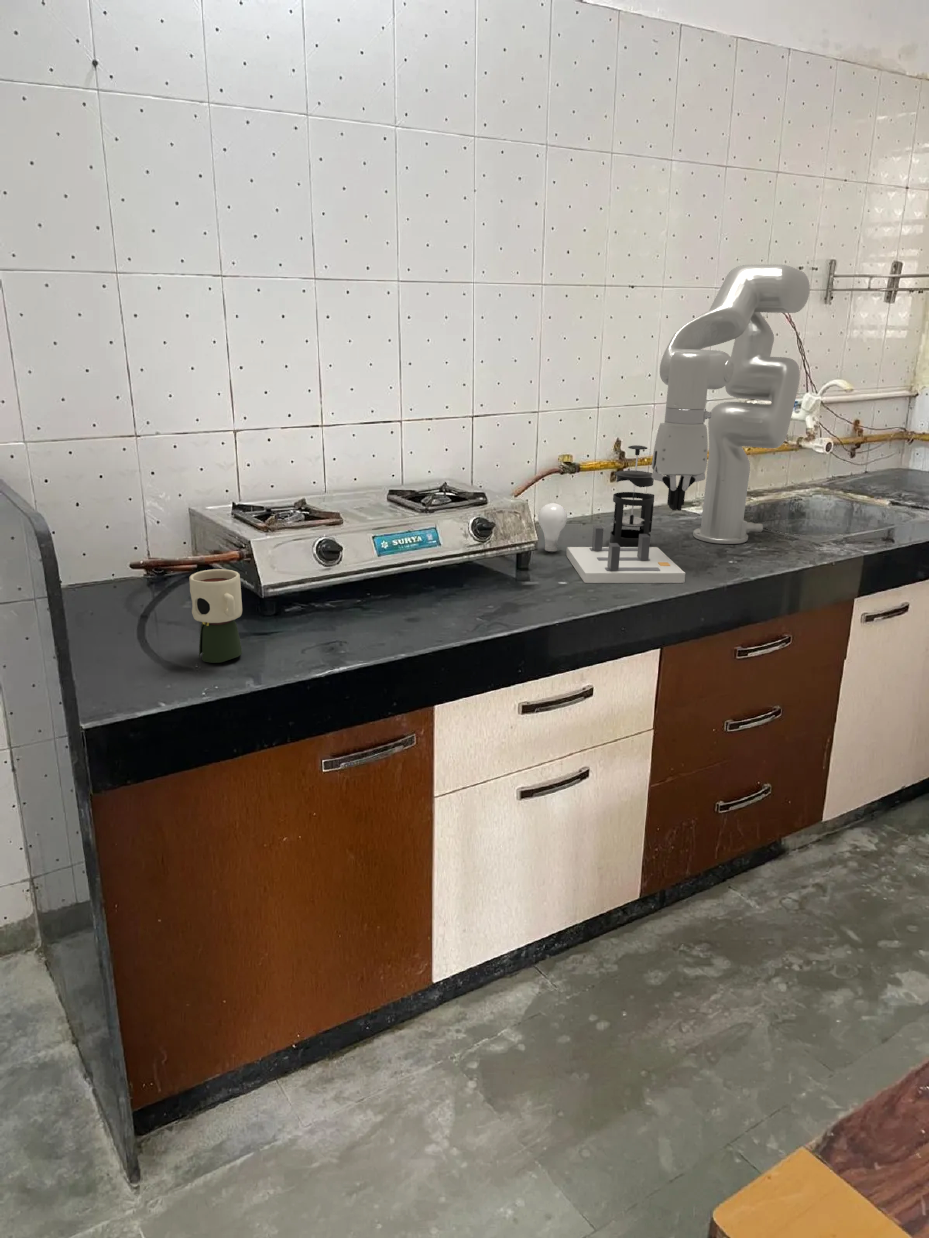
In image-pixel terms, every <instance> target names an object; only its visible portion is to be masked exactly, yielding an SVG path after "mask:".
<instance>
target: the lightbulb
mask: <svg viewBox="0 0 929 1238" xmlns="http://www.w3.org/2000/svg"><path fill="white" fill-rule="evenodd" d="M537 521H538V524H539V526H540V528H541V530H542V532H543V536H544V544H545V546H544V550H545V551H546V552H548V553H550V554H552V553H554V552H557V551H558V540H559V538H560V536H561V535H560V534H561V531H562V530H563V529H564V528H565V526H566V524H567V521H568V513H567V511H566V509H565V507H563V506H562V505H561V504H559V503H556V502H550V503H546V504H545V505H543V506H542V507H541V508H540V510H539V511H538V514H537Z"/></svg>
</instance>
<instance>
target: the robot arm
mask: <svg viewBox="0 0 929 1238" xmlns="http://www.w3.org/2000/svg"><path fill="white" fill-rule="evenodd" d="M810 287H811V286H810V280H809V277H808V276H807V273H806V272H803V271H802V270H799V269H797V268H795V267H793V266H789V265H786V264H743V265H739V266H736V267H734V268H732V269H731V270H730V271H729V272H728V273H727V275H726V276H725V277H724V280H723V282H722V284H721V286H720V287H719V290H718V292H717V294H716V296H715V298H714V299H713V301H712V303H711V306H710V307H709V310H708V311H705V312H704V313H702V314H700V315H698V316H697V317H694V319H693V318H692V320H690V321H688V322H687V323H686V324H684V325H683V326H681V327H679V329H677V331H676V332H675V333H674V334H673V336H672V337H671V339H670V340H669V342H668V344H667V346H666V348H665V350H664V352H663V355H662V357H661V360H660V363H659V377H660V379H661V381H662V382H663V383H664V384H665V385H667V394H666V401H665V402H666V404H665V414H664V422H660V423H659V426H658V429H657V432H656V439H655V442H654V447H653V454H652V461H651V468H652V470H653V471H652V472H651V473H652V476H651V477H652V479H654V481H657V482H661V483H663V484H664V486H666V488H667V489H668V490H667V502H666V503H667V506H668V507H669V509H670V510H672V511H676V510H677V511H682V506H684V504H685V497H686V491H688V490H689V488H690V487H691V485H693V484H694V483H697V482H701V481H704V480H705V487H704V494H703V495H704V497H703V504H702V505H703V506H702V511H701V512H702V515H701V525H700V527H699V528H695V529H694V530H693V533H692V535H693V537H694V538H695V539H697V540H699V541H702V542H707V543H712V544H721V545H723V544H724V545H737V544H744V543H745V542H748V539H749V535H748V534H749V533H750V532H754V533H756V532H758V533H762V531H763V529H764V526H763V523H754V522H753V521H752V522H751V521H750V522H749V521H747V520H745V519H744V517H745V512H746V511H745V509H746V502H747V495H748V487H749V479H750V474H751V473H750V472H751V463H750V459H749V457H748V455H747V453H746V451H745V450H744V448H743V447H750V448H759V449H761V448H762V449H777V448H780V447H781V446H782V445H783V444H784V443H785V440H786V438H787V436H788V432H789V428H790V424H791V421H792V420H791V419H792V416H793V411H794V408H795V403H796V399H797V394H798V390H799V386H800V379H801V377H800V375H801V373H800V366H799V364H798V362H797V361H796V360H794V359H792V358H790V357H783V356H772V349H773V345H774V343H775V342H774V341H775V335H774V333H773V330H772V328H771V327H770V324H769V323H768V321H767V320H766V319H765V318H764V316H763V314H762V313H772V314H779V313H781V314H795V313H799V312H800V311H802V310H803V308H805V306H806V305H807V302H808V300H809V297H810V291H811V289H810ZM732 340H734V341H733V347H732V351H731V354H730V355H731V356H730V355H729V354H728V353H727V352H726V351H722V350H718V349H717V350H716V349H705V348H709V347H713V346H717V345H720V344H724V343H726V342H730V341H732ZM722 388H724V389H725V391H726V393H727V394H728V395H729V396H731V397H733V398H737V399H745V400H757V401H767V402H768V401H769V402H771V403H770V404H768V403H767V404H766V403H765V404H764V403H753V402H742V401H725V402H721V403H718V404H716V405H715V406H714V407H713V408H712V409H711V411H708V410H707V408H706V404H707V396H708V395H707V393H708V390H713V391H714V390H719V389H722ZM706 420H708V421H707V422H708V423H707V425H706V424H704V423H705V422H706ZM707 427H708V429H707ZM677 476H680V477H679V480H678V485H677Z"/></svg>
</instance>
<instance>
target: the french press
mask: <svg viewBox="0 0 929 1238" xmlns="http://www.w3.org/2000/svg"><path fill="white" fill-rule="evenodd" d="M627 448H628V449H631V450H634V451H635V452H634V455H635V467H634V470H619V471H616V472H615V473H614V475H615V476H616V483H618V482H622V481H623V482H624V481H629V482H631V483H632V484H633V489H632V491H620V492H615V493H613V497H612V502H613V503H614V510H613V511H614V513H613V518H612V521H613V524H612V525H613V526H612V530H611V531H610V534H609V543H617V544H618V545H619V546H620V547H638V542H639V534H647V535H648V536H650V537H651V534H650V533H651V532H652V525H653V518H654V517H653V516H654V515H653V514H654V506H655V505H654V504H655V494H652V493H650V492H648V493H645V492H638V491H637V492H636V487H638V488H648V487H653V486H654V481H655V480H654V479H652V477H651V476H652V473H653V472H649V471H643V470H638V461H639V460H638V459H639V456H640V452H641V450H648V447H647V446H645V445H640V444H639V445H638V444H637V445H634V444H633V445H629V446H628V447H627ZM624 506H628V507H629V506H630V507H631V514H630V515H628V516H625V515H624V508H625V507H624ZM635 507H641V508H640V510H641V511H640V517H638V516H634V508H635ZM623 527H625V529H624V528H623ZM626 527H627V528H626ZM630 528H639V529H630ZM607 545H608V546H607V547H609V544H607Z"/></svg>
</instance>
